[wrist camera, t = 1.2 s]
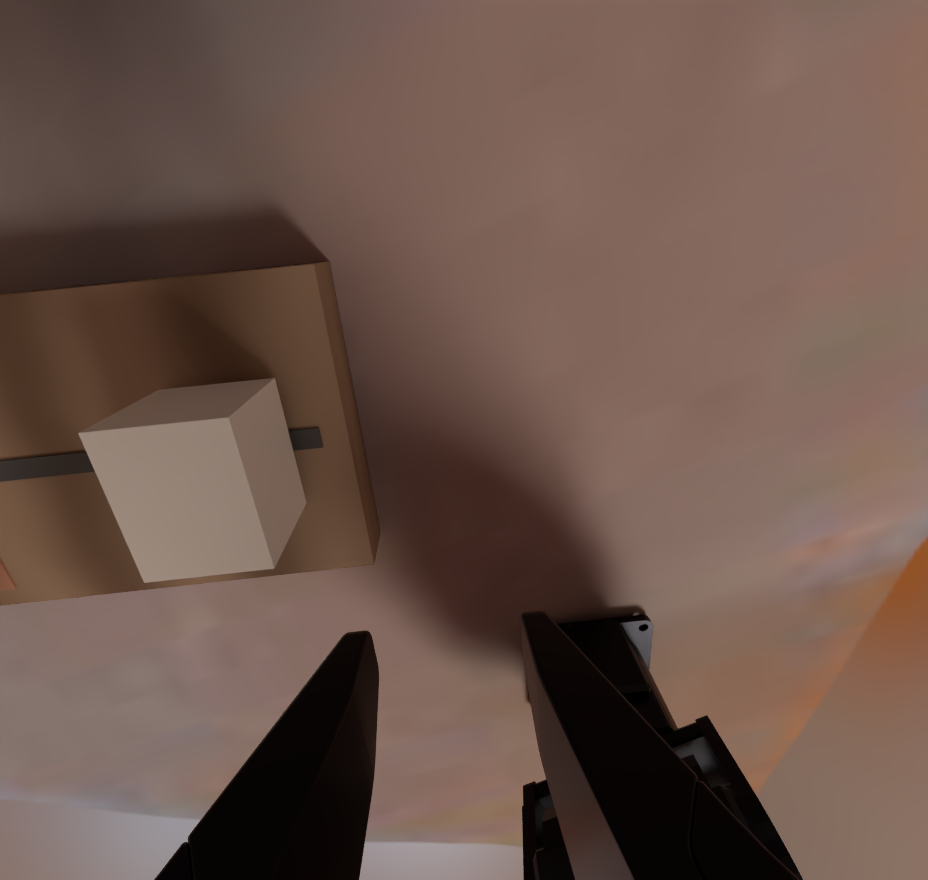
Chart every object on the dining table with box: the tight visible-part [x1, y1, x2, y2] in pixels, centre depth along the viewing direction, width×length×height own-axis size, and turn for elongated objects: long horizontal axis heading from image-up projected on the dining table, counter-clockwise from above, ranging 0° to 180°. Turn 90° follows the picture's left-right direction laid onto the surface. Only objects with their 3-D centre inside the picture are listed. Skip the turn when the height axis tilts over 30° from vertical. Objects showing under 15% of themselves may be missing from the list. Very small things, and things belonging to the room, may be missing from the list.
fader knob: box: [78, 378, 306, 583], centre depth 16 cm, size 4×5×4 cm
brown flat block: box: [0, 261, 380, 606], centre depth 19 cm, size 20×12×3 cm, turn 95°
